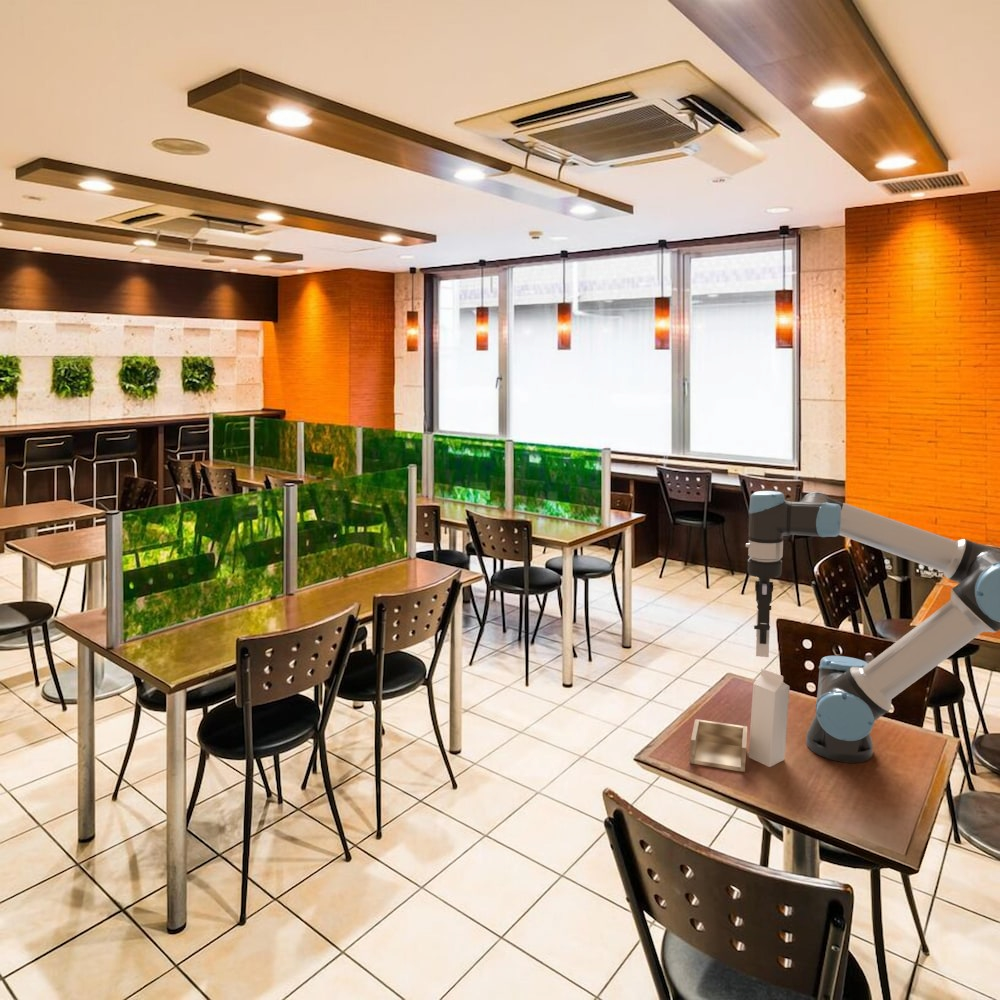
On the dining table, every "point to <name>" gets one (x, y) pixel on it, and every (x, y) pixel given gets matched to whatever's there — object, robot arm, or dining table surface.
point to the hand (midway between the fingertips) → (762, 646)
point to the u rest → (719, 745)
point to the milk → (768, 719)
